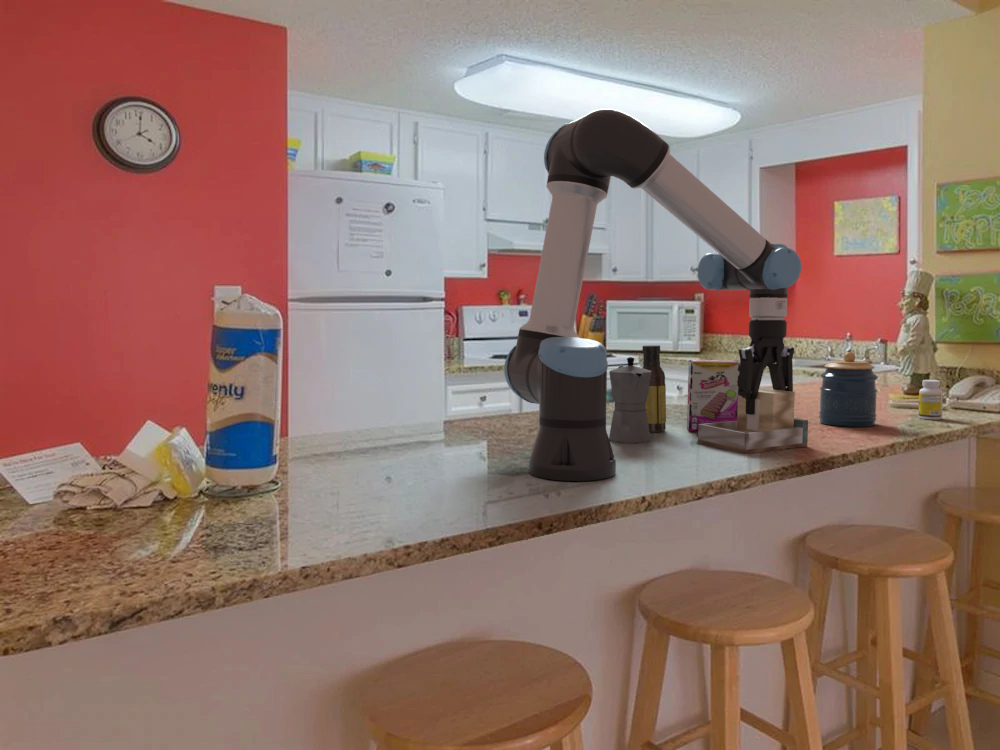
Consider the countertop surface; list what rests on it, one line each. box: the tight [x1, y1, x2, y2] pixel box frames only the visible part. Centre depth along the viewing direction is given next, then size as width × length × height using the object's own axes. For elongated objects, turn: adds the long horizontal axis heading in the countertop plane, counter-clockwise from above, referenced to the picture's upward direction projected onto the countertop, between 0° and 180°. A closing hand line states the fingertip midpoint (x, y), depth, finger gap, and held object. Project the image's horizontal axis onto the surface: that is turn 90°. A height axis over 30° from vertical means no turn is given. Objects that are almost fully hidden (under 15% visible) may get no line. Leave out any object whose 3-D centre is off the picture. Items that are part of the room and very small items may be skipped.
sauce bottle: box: [641, 344, 667, 433], centre depth 189 cm, size 6×6×20 cm
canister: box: [818, 351, 879, 428], centre depth 200 cm, size 13×13×18 cm
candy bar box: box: [686, 359, 740, 433], centre depth 189 cm, size 11×5×16 cm, turn 84°
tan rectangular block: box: [737, 387, 796, 433], centre depth 172 cm, size 6×10×9 cm, turn 28°
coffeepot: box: [608, 356, 652, 444], centre depth 178 cm, size 15×9×18 cm, turn 8°
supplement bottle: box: [918, 379, 944, 421], centre depth 209 cm, size 5×5×10 cm
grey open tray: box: [697, 417, 809, 455], centre depth 171 cm, size 17×14×6 cm
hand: (764, 428), depth 172 cm, fingers closed on tan rectangular block, 6 cm apart
